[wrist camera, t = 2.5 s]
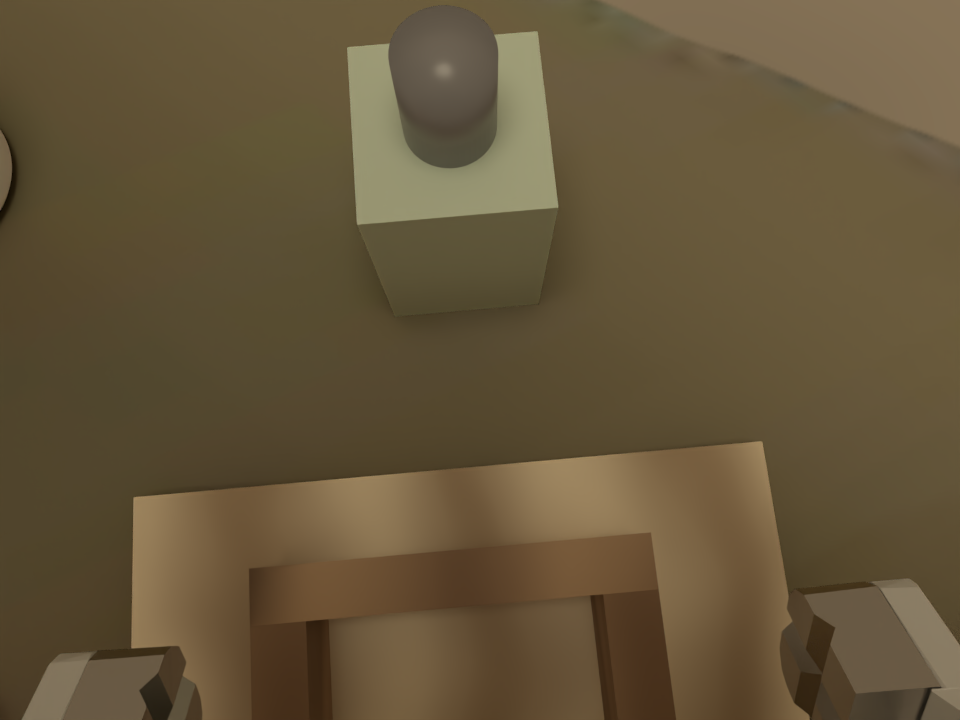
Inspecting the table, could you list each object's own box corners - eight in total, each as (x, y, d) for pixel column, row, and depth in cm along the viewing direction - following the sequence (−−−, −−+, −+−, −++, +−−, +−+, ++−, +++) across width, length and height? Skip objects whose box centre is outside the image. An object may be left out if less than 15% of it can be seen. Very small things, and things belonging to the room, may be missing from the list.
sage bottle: (394, 316, 27) (333, 167, 17) (385, 184, 28) (324, -36, 18) (538, 304, 27) (570, 147, 17) (524, 172, 28) (545, -54, 18)
